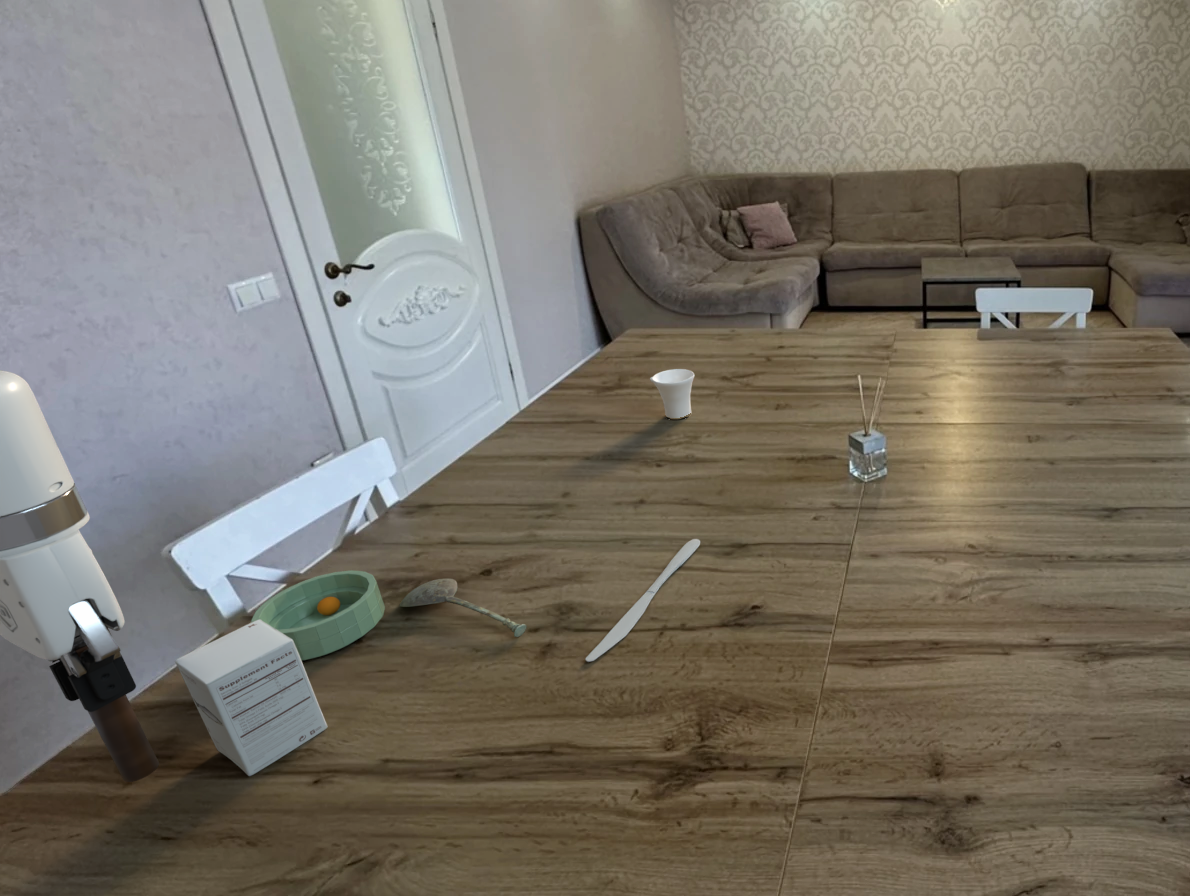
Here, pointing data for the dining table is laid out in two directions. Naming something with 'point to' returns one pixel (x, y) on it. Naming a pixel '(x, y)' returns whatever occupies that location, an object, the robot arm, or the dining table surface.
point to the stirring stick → (123, 736)
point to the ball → (328, 605)
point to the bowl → (325, 632)
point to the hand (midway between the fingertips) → (102, 693)
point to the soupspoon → (452, 601)
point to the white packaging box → (253, 695)
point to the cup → (675, 391)
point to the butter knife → (642, 603)
